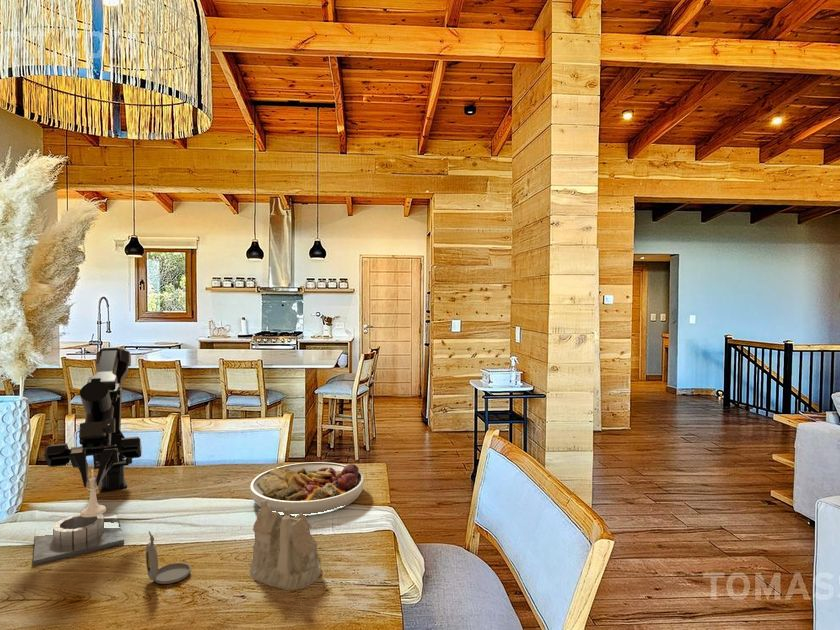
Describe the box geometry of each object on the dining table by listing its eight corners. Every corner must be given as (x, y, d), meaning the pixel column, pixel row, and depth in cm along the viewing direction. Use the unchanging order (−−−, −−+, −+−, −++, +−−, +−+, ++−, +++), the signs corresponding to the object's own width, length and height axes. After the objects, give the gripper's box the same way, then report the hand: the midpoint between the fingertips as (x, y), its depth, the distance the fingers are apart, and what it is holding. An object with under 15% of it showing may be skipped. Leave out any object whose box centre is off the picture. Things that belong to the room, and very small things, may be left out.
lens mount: (35, 535, 118) (35, 517, 117) (117, 517, 127) (116, 501, 127) (33, 565, 104) (32, 546, 104) (124, 543, 114) (123, 526, 114)
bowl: (257, 531, 121) (257, 498, 121) (245, 486, 148) (245, 459, 148) (378, 510, 133) (378, 480, 133) (346, 472, 160) (346, 447, 160)
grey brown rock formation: (290, 596, 94) (291, 513, 95) (233, 572, 103) (235, 496, 104) (347, 565, 107) (348, 492, 108) (293, 546, 116) (294, 479, 117)
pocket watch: (198, 571, 103) (197, 521, 103) (164, 594, 95) (163, 540, 95) (166, 563, 106) (165, 515, 105) (130, 585, 98) (129, 533, 97)
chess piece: (81, 519, 113) (79, 474, 113) (79, 511, 117) (78, 468, 117) (107, 513, 116) (106, 470, 116) (104, 506, 120) (104, 463, 120)
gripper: (45, 410, 115) (32, 475, 106) (139, 403, 123) (136, 463, 113) (54, 435, 123) (43, 498, 113) (143, 427, 130) (139, 485, 121)
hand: (91, 485), depth 115 cm, fingers closed on chess piece
